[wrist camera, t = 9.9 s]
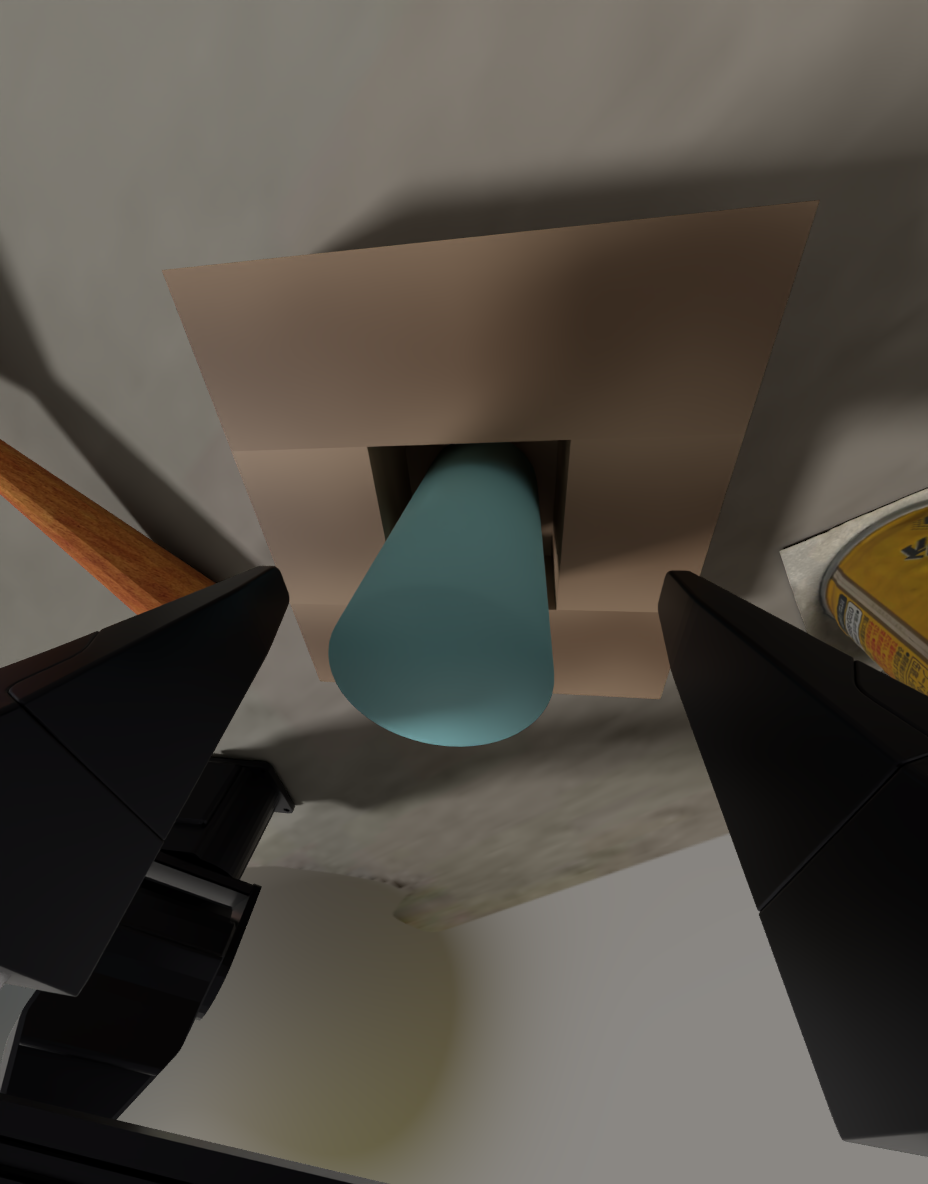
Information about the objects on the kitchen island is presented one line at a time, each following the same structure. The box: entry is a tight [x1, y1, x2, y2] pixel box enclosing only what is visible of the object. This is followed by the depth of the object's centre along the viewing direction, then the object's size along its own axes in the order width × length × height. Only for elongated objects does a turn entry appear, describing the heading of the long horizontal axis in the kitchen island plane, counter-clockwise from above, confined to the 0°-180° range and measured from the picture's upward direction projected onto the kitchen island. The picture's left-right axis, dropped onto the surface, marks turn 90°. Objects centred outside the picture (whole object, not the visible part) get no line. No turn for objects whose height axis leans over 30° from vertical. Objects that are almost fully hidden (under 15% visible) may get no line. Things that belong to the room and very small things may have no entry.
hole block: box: [162, 200, 820, 699], centre depth 13 cm, size 13×13×4 cm
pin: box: [328, 442, 554, 747], centre depth 11 cm, size 4×4×9 cm
